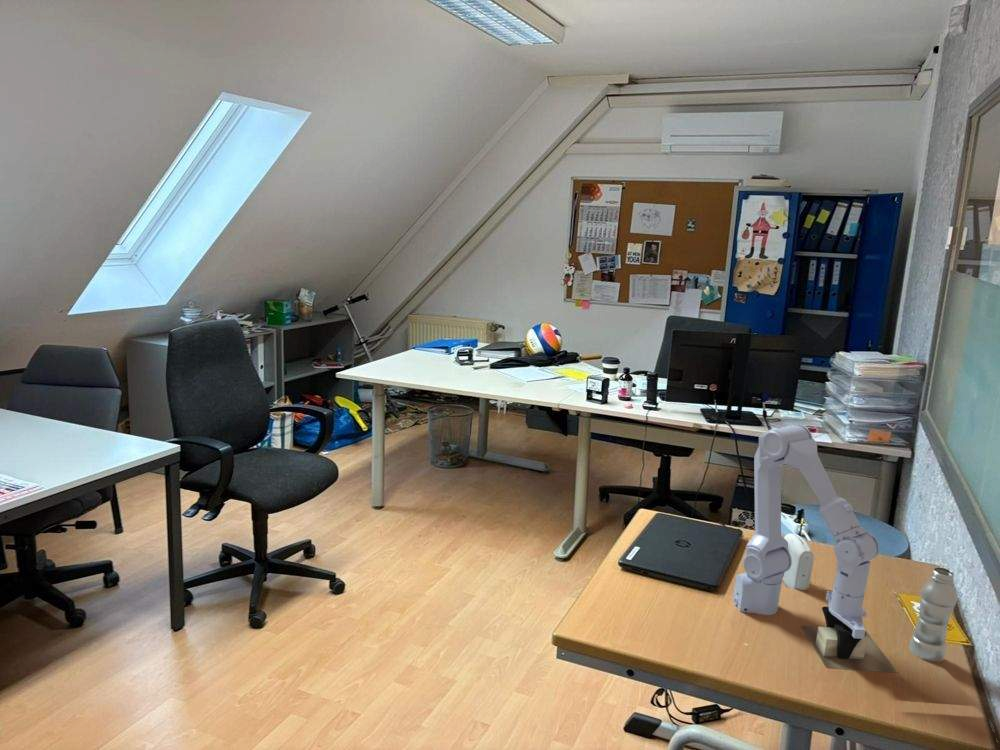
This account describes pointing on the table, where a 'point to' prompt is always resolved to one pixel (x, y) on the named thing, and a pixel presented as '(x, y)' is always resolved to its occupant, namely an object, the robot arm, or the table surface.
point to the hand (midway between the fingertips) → (838, 649)
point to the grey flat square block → (871, 661)
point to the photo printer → (798, 563)
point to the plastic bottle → (934, 616)
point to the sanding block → (829, 644)
